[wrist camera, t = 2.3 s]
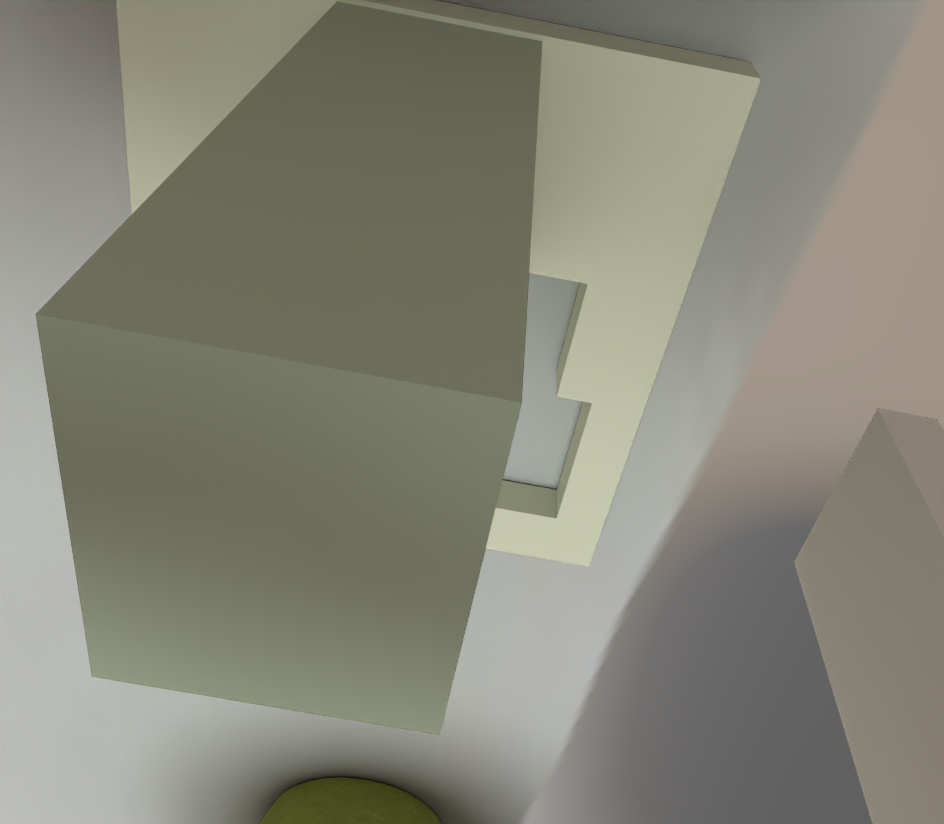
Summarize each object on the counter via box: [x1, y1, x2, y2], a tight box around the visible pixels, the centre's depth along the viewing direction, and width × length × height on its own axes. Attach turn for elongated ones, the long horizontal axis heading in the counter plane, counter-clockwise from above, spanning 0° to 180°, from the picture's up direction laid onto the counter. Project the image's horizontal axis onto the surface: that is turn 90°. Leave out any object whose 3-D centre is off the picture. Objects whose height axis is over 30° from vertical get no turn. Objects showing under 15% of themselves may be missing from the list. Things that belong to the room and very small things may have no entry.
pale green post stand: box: [36, 0, 761, 735], centre depth 16 cm, size 14×13×13 cm
